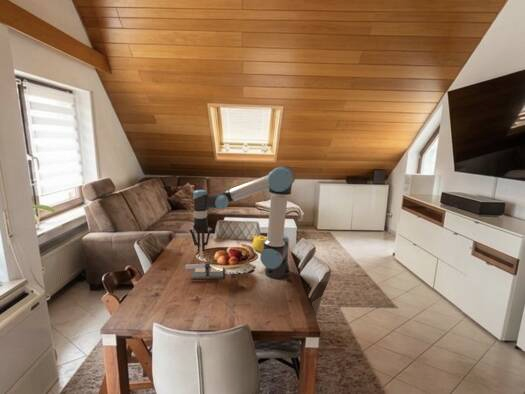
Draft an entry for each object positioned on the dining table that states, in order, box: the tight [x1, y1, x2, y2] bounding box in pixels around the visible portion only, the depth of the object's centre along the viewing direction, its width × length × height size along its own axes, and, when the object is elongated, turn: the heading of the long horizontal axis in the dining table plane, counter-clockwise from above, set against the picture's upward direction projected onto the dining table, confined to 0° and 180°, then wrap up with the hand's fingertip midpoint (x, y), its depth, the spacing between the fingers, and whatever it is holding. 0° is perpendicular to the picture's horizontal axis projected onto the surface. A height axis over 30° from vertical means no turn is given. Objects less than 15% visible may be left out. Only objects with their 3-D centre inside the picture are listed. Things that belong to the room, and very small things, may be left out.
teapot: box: [251, 235, 267, 254], centre depth 218 cm, size 18×11×11 cm, turn 41°
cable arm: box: [184, 262, 211, 270], centre depth 173 cm, size 3×14×2 cm, turn 101°
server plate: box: [190, 265, 224, 280], centre depth 180 cm, size 18×14×6 cm
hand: (201, 256), depth 179 cm, fingers closed
